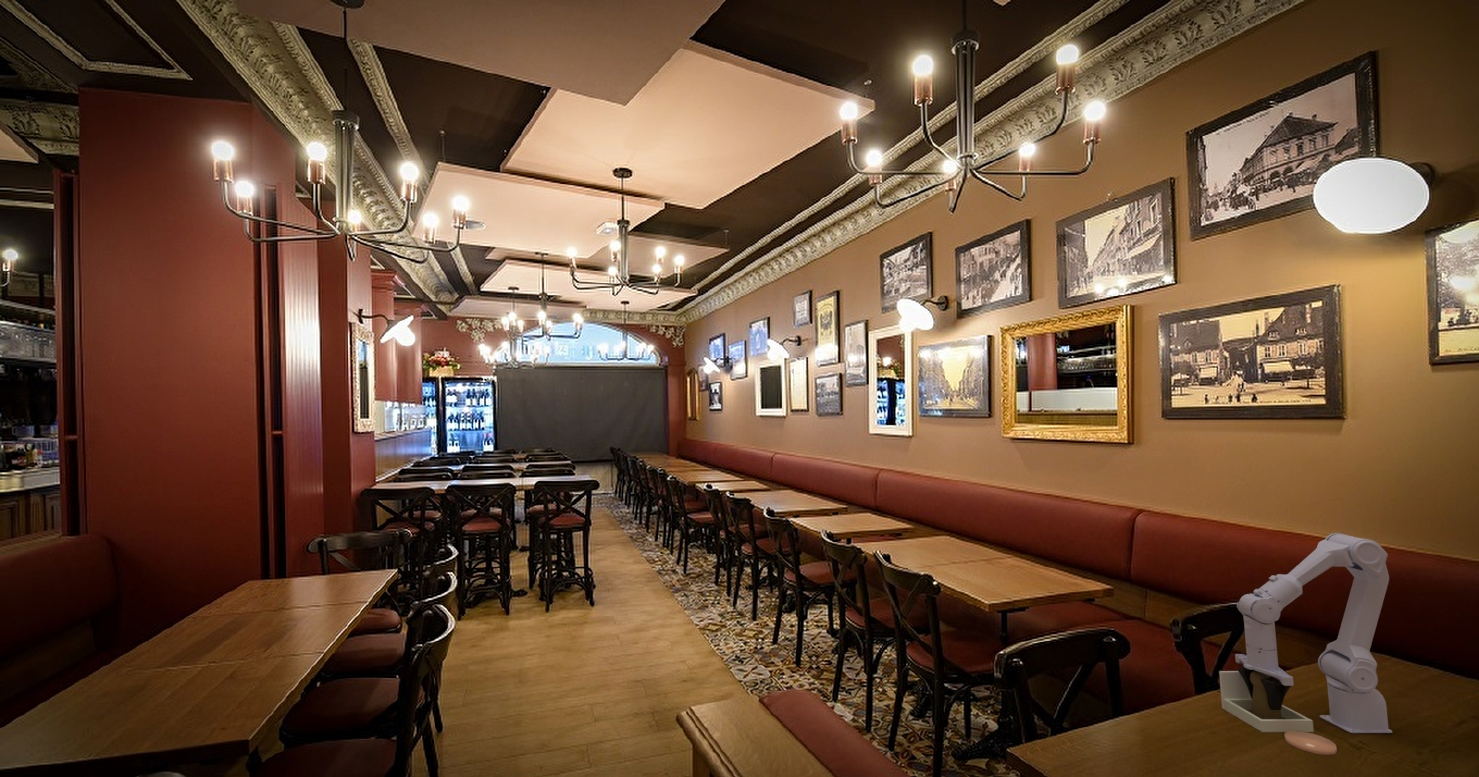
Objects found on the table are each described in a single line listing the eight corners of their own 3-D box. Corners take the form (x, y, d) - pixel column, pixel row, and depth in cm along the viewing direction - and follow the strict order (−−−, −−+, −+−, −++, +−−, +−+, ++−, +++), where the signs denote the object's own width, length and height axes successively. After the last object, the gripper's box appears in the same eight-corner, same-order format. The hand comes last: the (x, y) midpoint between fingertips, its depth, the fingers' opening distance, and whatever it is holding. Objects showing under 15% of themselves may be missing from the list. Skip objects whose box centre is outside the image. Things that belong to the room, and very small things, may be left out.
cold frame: (1269, 707, 152) (1266, 670, 153) (1313, 731, 140) (1310, 691, 140) (1222, 707, 152) (1219, 671, 153) (1262, 731, 140) (1258, 691, 141)
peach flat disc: (1312, 734, 138) (1312, 730, 138) (1348, 754, 130) (1347, 749, 130) (1274, 735, 139) (1274, 730, 139) (1307, 754, 130) (1307, 749, 130)
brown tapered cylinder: (1290, 726, 142) (1286, 678, 143) (1260, 724, 143) (1257, 677, 144) (1273, 714, 148) (1269, 668, 149) (1244, 713, 149) (1241, 667, 150)
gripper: (1221, 636, 154) (1225, 691, 153) (1269, 657, 140) (1274, 718, 139) (1249, 635, 154) (1254, 691, 153) (1300, 657, 140) (1306, 718, 139)
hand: (1265, 704), depth 146 cm, fingers closed on brown tapered cylinder, 5 cm apart
